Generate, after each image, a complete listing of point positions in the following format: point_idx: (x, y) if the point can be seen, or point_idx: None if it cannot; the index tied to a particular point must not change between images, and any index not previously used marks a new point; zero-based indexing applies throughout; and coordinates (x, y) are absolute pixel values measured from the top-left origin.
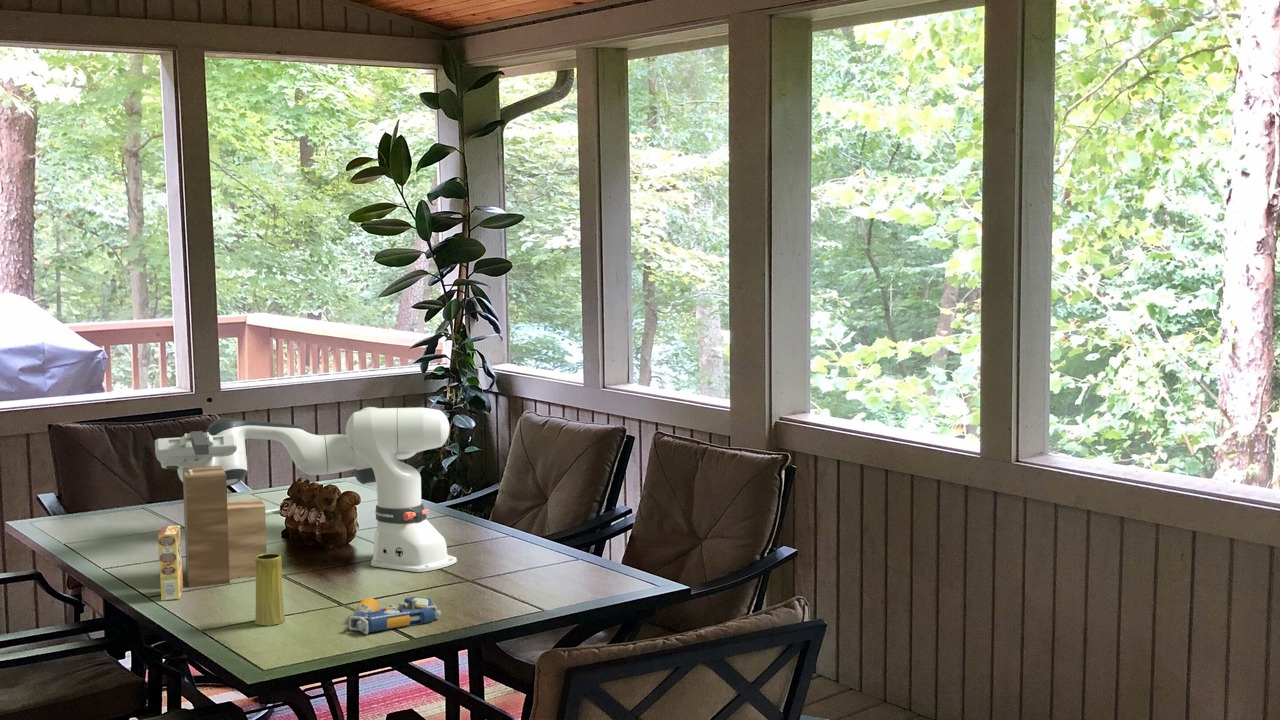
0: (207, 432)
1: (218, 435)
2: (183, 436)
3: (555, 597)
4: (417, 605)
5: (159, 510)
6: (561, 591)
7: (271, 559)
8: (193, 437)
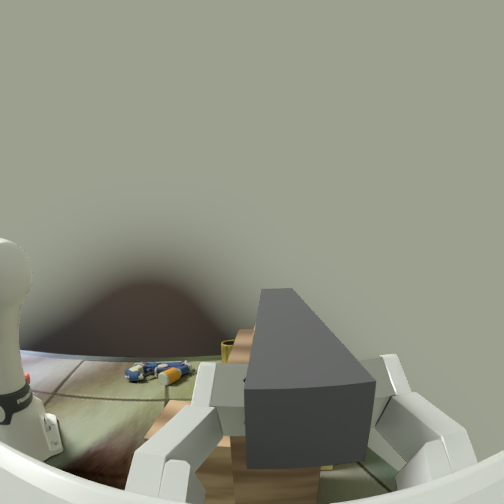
0: (213, 363)
1: (57, 470)
2: (422, 400)
3: (60, 364)
4: (144, 364)
5: None
6: (47, 366)
7: (231, 340)
8: (306, 309)
